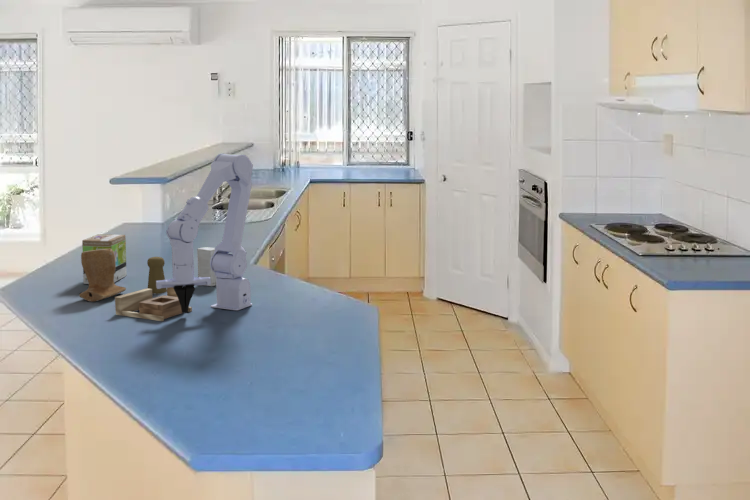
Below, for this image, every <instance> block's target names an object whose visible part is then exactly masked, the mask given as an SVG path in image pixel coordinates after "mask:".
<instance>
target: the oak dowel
mask: <svg viewBox="0 0 750 500" xmlns="http://www.w3.org/2000/svg"><path fill="white" fill-rule="evenodd" d="M166 296H174V297H177V295H176V293H175V291H174V289H173V287H170V288H167V292H166Z"/></svg>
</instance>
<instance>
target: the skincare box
mask: <svg viewBox="0 0 750 500" xmlns="http://www.w3.org/2000/svg"><path fill="white" fill-rule="evenodd" d="M196 251H197V252H196V255H197V256H196V257H197V276H198V277H210V278H211V285H204V286H205V287H214V286H215V287H216V276H215V275H214V272H213V271H212V269H211V267H210V260H211V257H212V256H213V254H214V251H215V247H207V246H206V247H205V246H204V247H200V248H199V247H198V248H197V249H196Z"/></svg>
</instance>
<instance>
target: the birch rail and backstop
mask: <svg viewBox="0 0 750 500" xmlns="http://www.w3.org/2000/svg"><path fill="white" fill-rule="evenodd" d="M152 298H154V297H153V294H152V289H148V287H147V288H143V289H139V290H136V291H132V292H128V293H124V294H121V295H118V296H114V304H115V305H114V307H115V309H114V310H115V315H117V316H122V317H124V316H125V317H129V318H130V317H131V318H139V319H144V320H152V321H157V322H164V321H165V319H164V316H158V315H151V314H144V313H140V312H137V311H139V302H142V301H145V300H149V299H152ZM190 312H193V307H192V306H189V307H188V313H190Z"/></svg>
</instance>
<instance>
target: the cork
mask: <svg viewBox="0 0 750 500" xmlns="http://www.w3.org/2000/svg"><path fill="white" fill-rule="evenodd" d="M147 266H148V268H149V269H148V281H147V288H148V289H152V295H155V294H157V295H159V294H164V293H167V288H161V289H157V288H156V281H159V280H166V277H165V272H164V266H165V259H164V258H163V257H161V256H152V257H149V258H148V259H147Z"/></svg>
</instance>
